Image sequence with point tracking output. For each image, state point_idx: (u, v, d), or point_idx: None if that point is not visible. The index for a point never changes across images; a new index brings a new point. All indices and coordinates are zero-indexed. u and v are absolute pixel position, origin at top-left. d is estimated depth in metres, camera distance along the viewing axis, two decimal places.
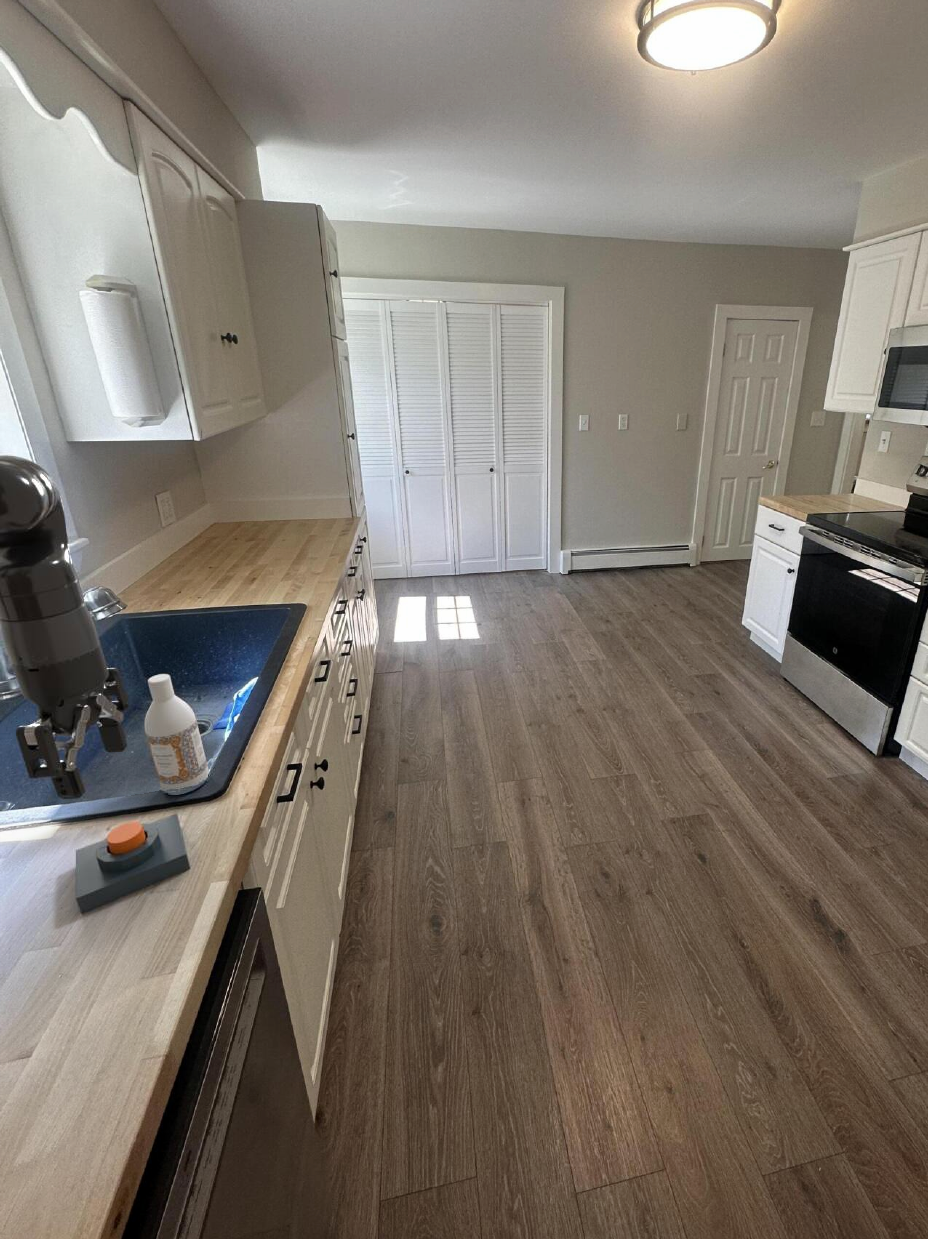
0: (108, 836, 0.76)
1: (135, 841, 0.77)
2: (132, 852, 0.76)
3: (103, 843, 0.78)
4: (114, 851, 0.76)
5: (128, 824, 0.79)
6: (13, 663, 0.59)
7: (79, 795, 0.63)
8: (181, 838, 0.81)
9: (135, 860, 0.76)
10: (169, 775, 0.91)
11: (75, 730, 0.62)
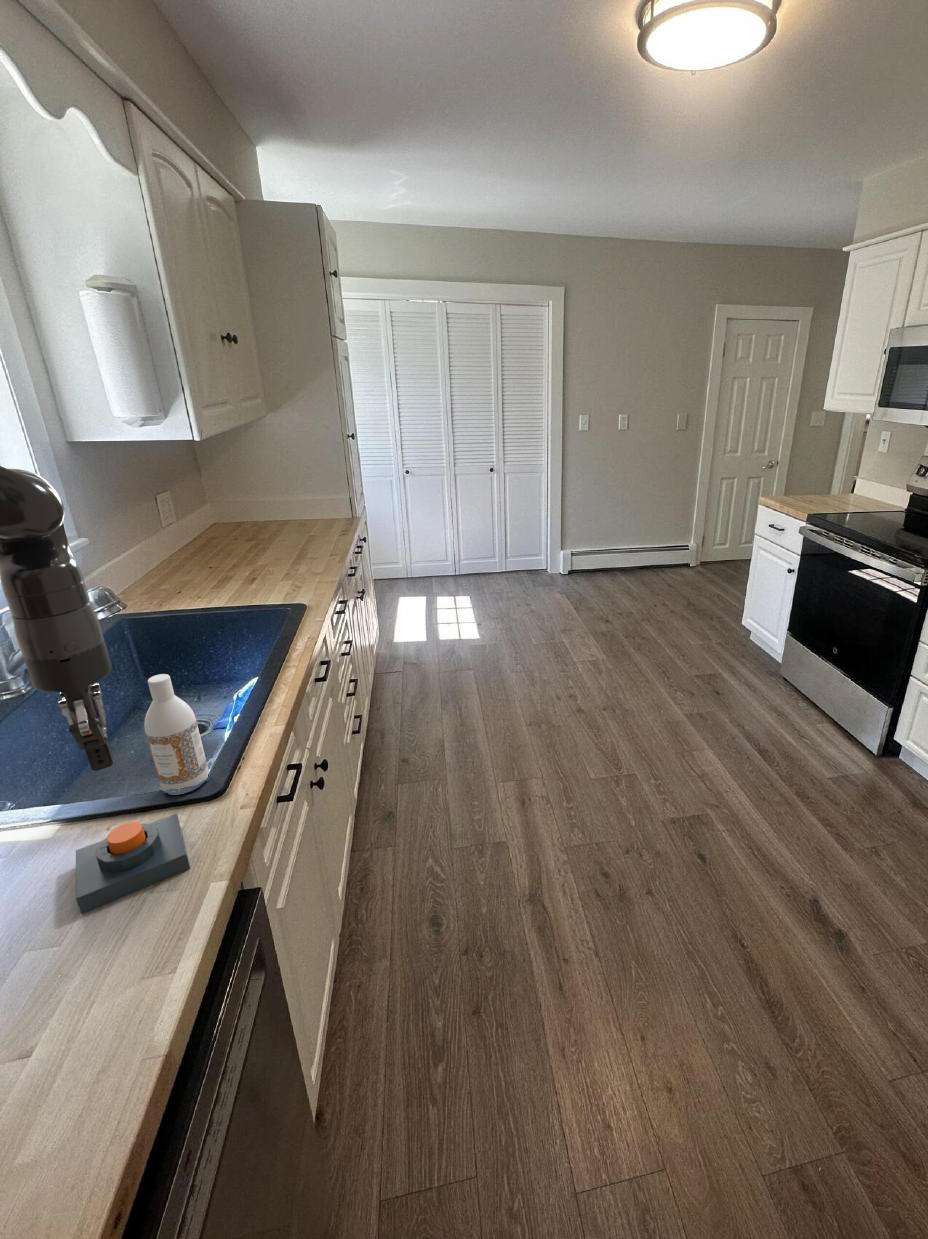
0: (108, 836, 0.76)
1: (135, 841, 0.77)
2: (132, 852, 0.76)
3: (103, 843, 0.78)
4: (114, 851, 0.76)
5: (128, 824, 0.79)
6: (39, 659, 0.64)
7: (110, 763, 0.73)
8: (181, 838, 0.81)
9: (135, 860, 0.76)
10: (169, 775, 0.91)
11: (101, 714, 0.70)
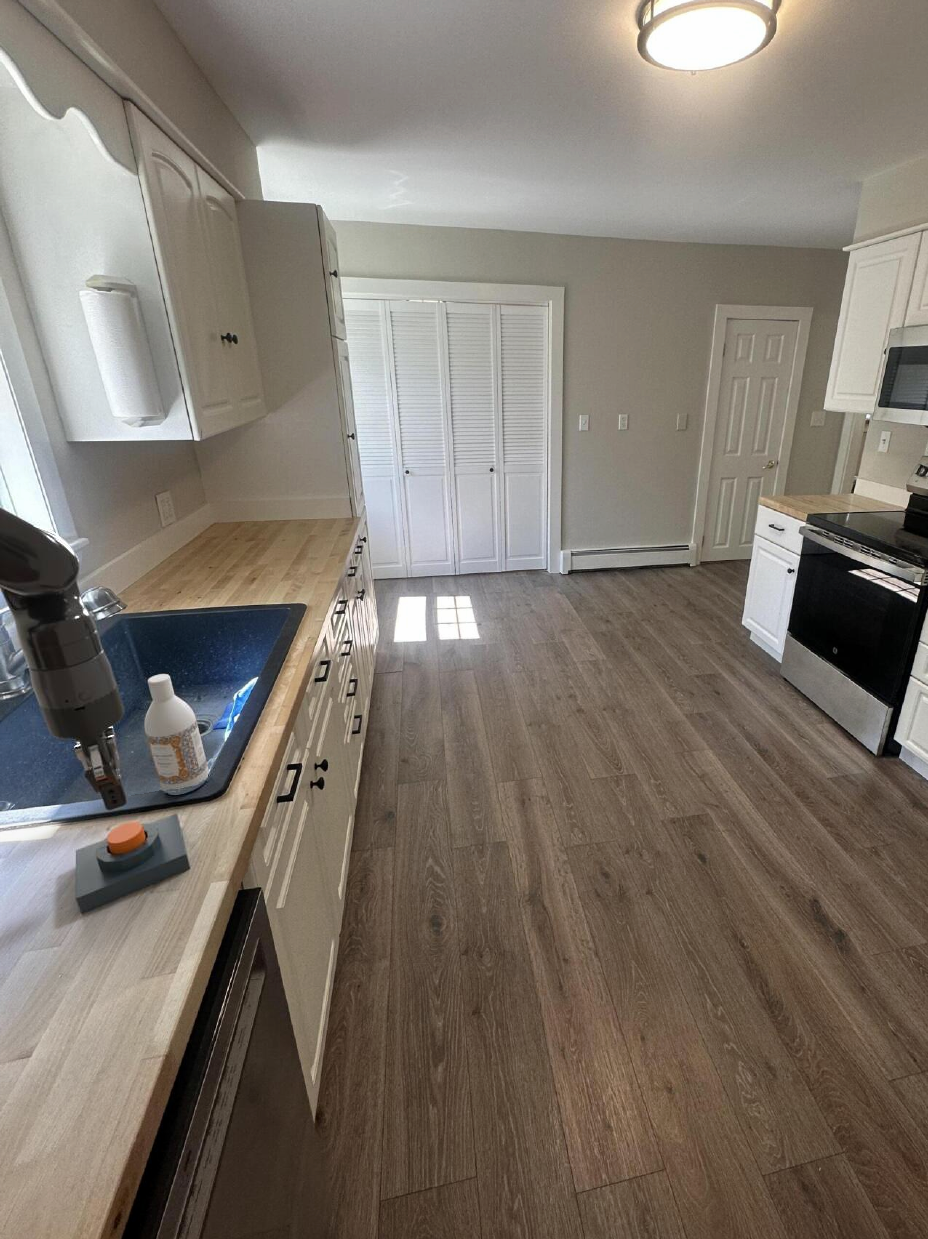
0: (108, 836, 0.76)
1: (135, 841, 0.77)
2: (132, 852, 0.76)
3: (103, 843, 0.78)
4: (114, 851, 0.76)
5: (128, 824, 0.79)
6: (55, 708, 0.66)
7: (124, 802, 0.76)
8: (181, 838, 0.81)
9: (135, 860, 0.76)
10: (169, 775, 0.91)
11: (114, 757, 0.72)
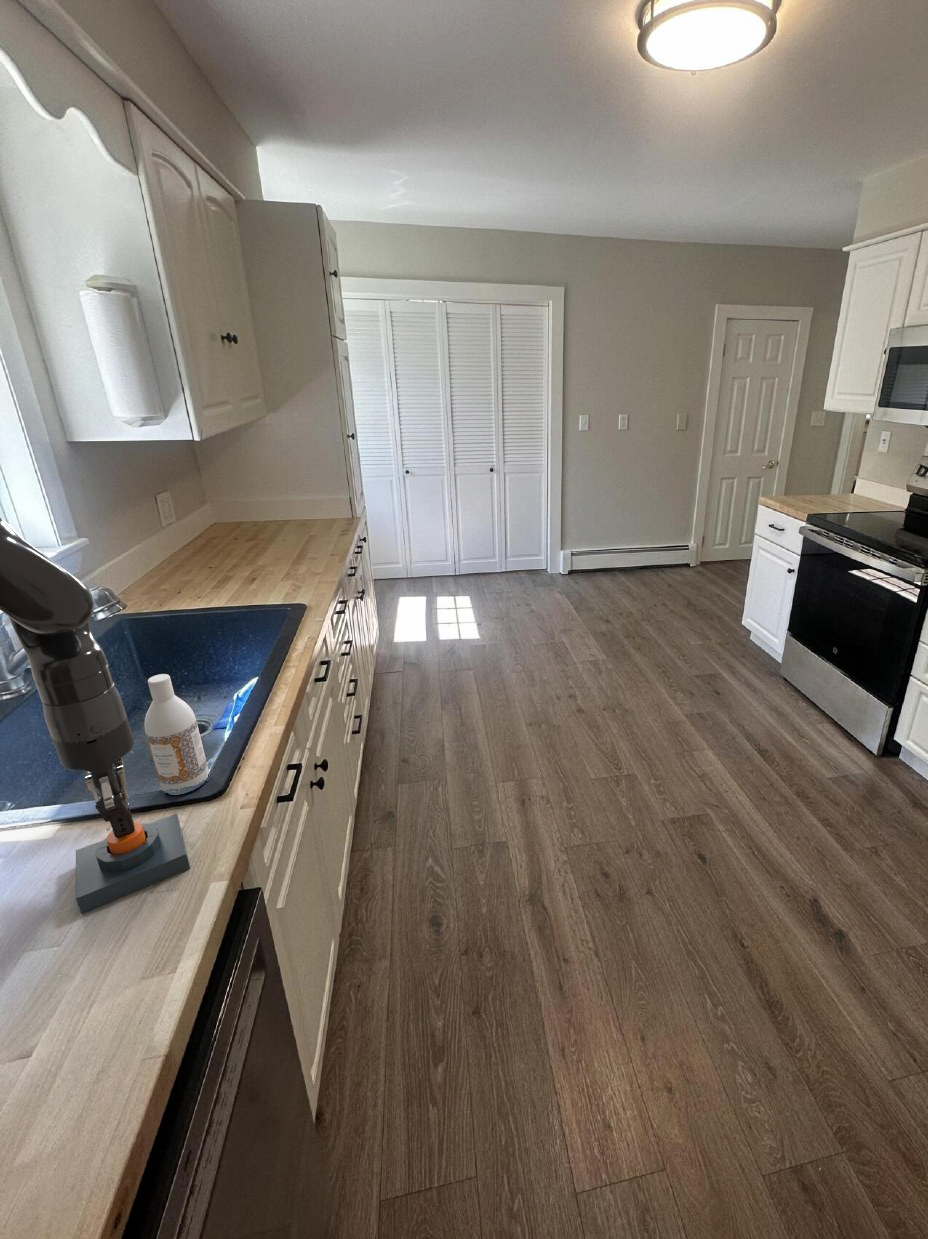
0: (108, 836, 0.76)
1: (135, 841, 0.77)
2: (132, 852, 0.76)
3: (103, 843, 0.78)
4: (114, 851, 0.76)
5: None
6: (67, 741, 0.68)
7: (132, 830, 0.77)
8: (181, 838, 0.81)
9: (135, 860, 0.76)
10: (169, 775, 0.91)
11: (124, 786, 0.74)
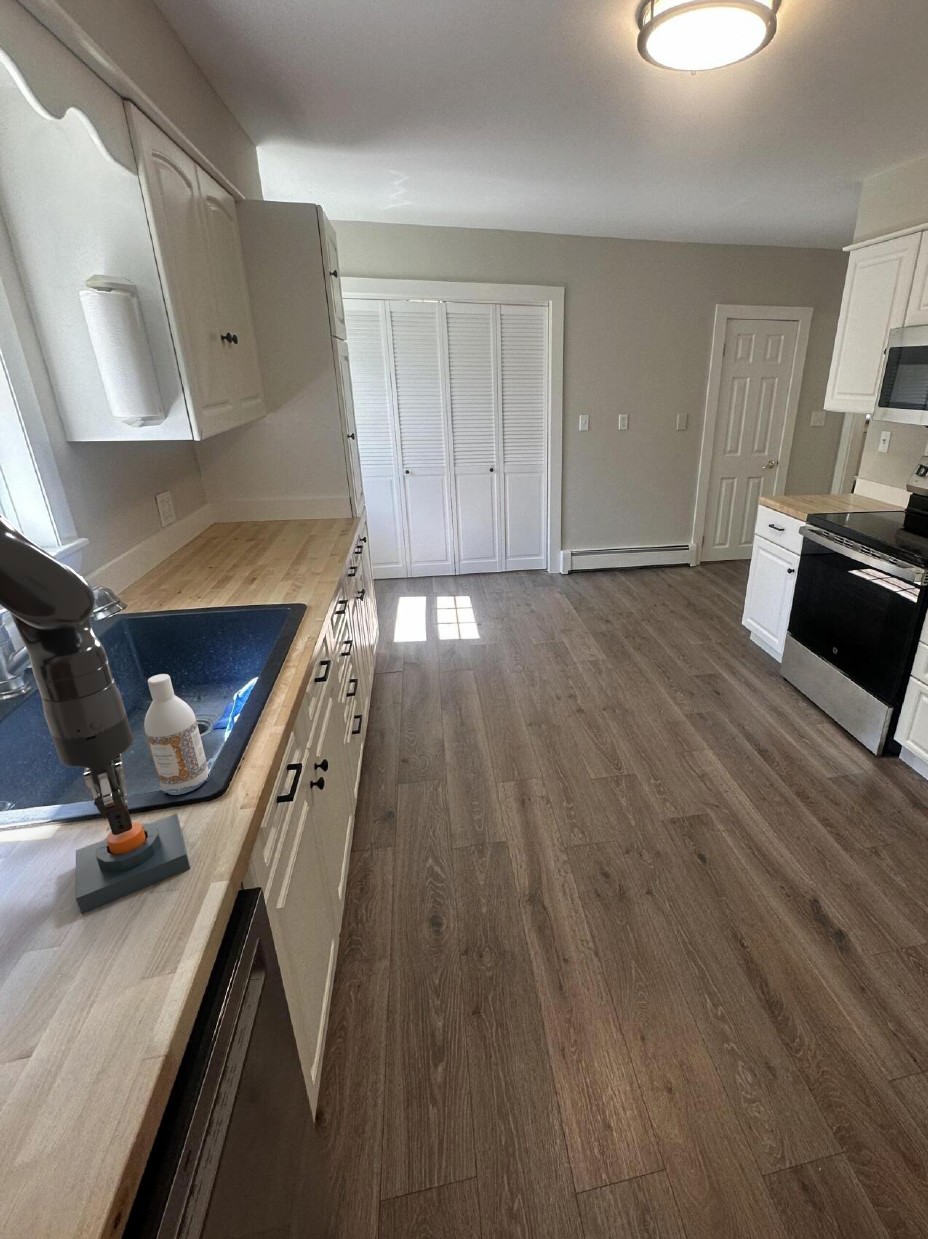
0: (108, 836, 0.76)
1: (135, 841, 0.77)
2: (132, 852, 0.76)
3: (103, 843, 0.78)
4: (114, 851, 0.76)
5: None
6: (67, 737, 0.68)
7: (130, 827, 0.77)
8: (181, 838, 0.81)
9: (135, 860, 0.76)
10: (169, 775, 0.91)
11: (122, 783, 0.74)
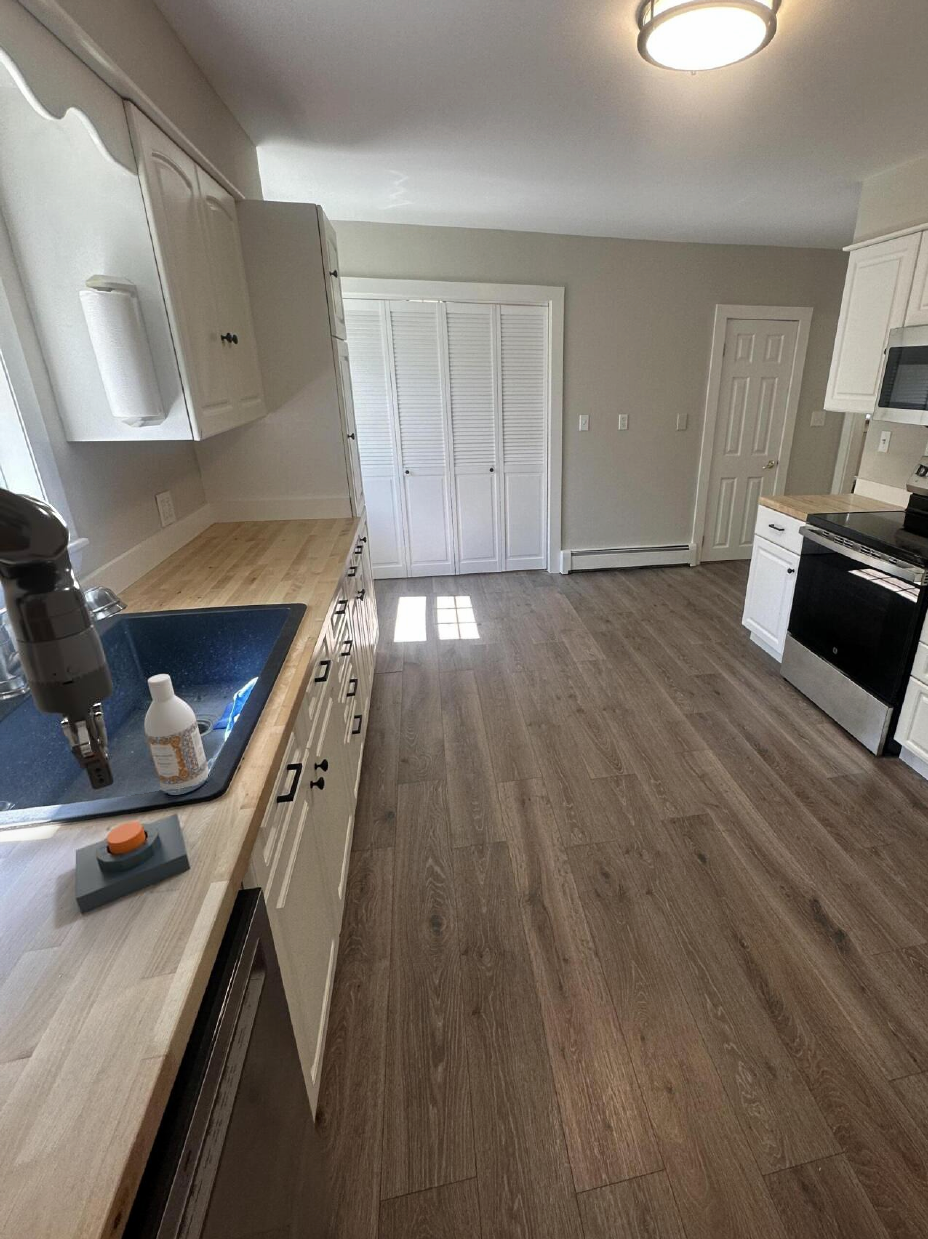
0: (108, 836, 0.76)
1: (135, 841, 0.77)
2: (132, 852, 0.76)
3: (103, 843, 0.78)
4: (114, 851, 0.76)
5: (128, 824, 0.79)
6: (42, 681, 0.65)
7: (111, 782, 0.74)
8: (181, 838, 0.81)
9: (135, 860, 0.76)
10: (169, 775, 0.91)
11: (102, 734, 0.71)
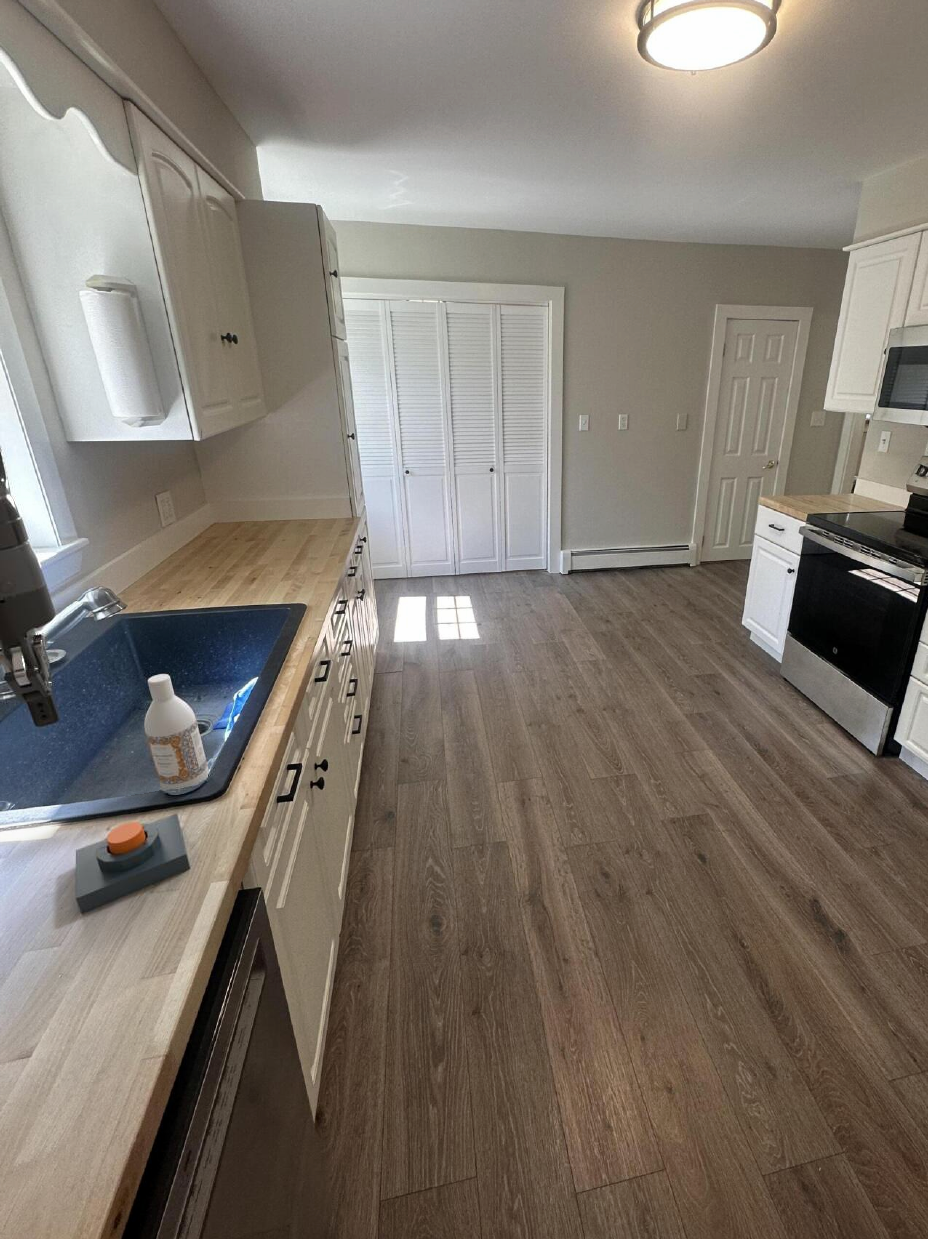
0: (108, 836, 0.76)
1: (135, 841, 0.77)
2: (132, 852, 0.76)
3: (103, 843, 0.78)
4: (114, 851, 0.76)
5: (128, 824, 0.79)
6: None
7: (56, 719, 0.68)
8: (181, 838, 0.81)
9: (135, 860, 0.76)
10: (169, 775, 0.91)
11: (43, 664, 0.65)
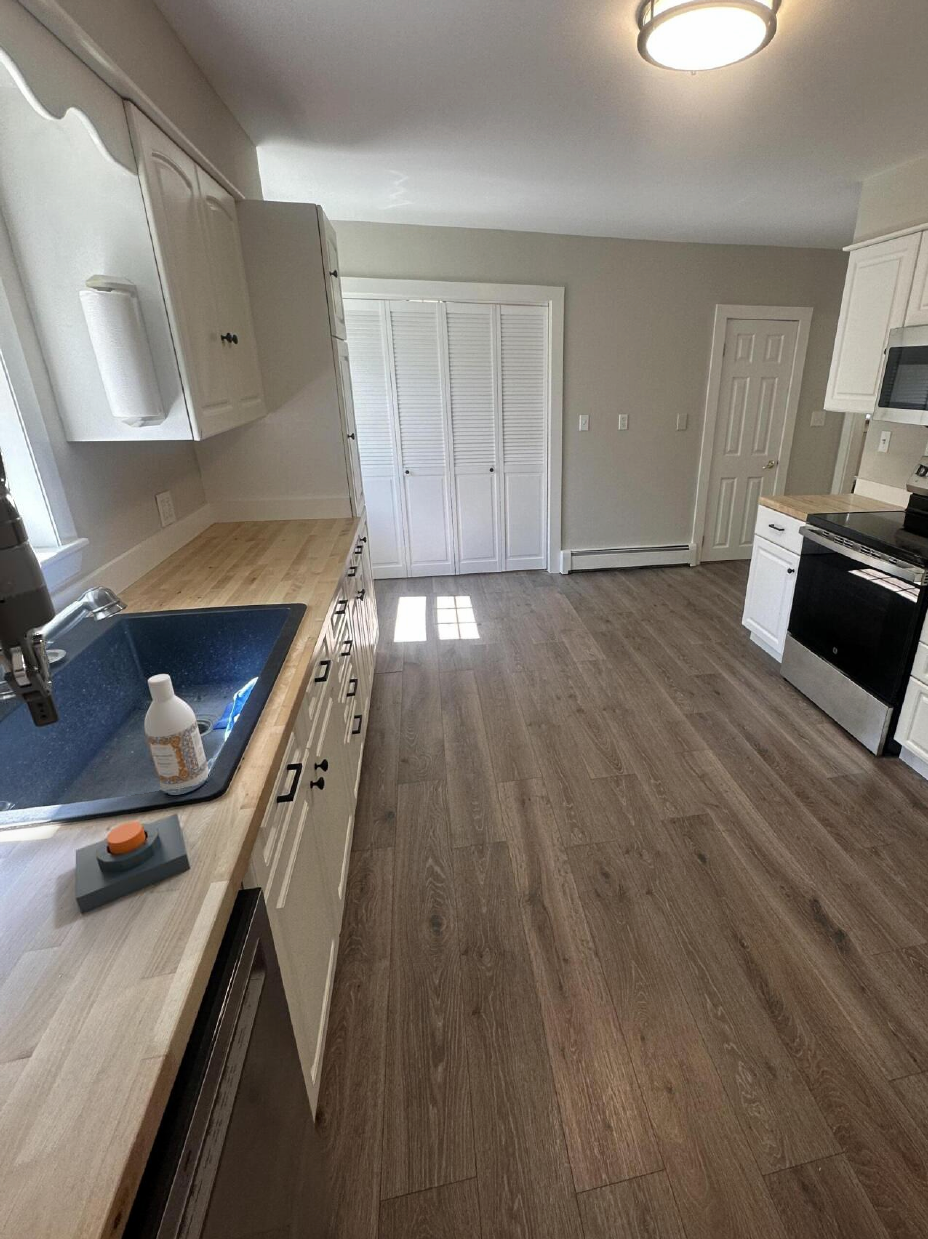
0: (108, 836, 0.76)
1: (135, 841, 0.77)
2: (132, 852, 0.76)
3: (103, 843, 0.78)
4: (114, 851, 0.76)
5: (128, 824, 0.79)
6: None
7: (56, 719, 0.68)
8: (181, 838, 0.81)
9: (135, 860, 0.76)
10: (169, 775, 0.91)
11: (43, 664, 0.65)
